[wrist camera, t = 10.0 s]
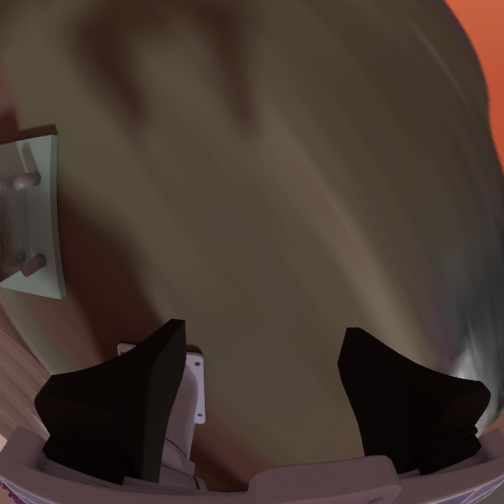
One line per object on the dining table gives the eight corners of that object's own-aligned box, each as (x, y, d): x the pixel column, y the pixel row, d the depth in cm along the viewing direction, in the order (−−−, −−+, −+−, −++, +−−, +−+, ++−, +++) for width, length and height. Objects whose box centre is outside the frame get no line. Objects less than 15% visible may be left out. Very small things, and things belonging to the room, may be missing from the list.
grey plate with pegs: (66, 294, 22) (46, 311, 19) (1, 282, 22) (-19, 294, 19) (58, 135, 18) (32, 133, 15) (-10, 148, 18) (-33, 150, 15)
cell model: (0, 459, 37) (-14, 484, 26) (11, 451, 34) (-7, 482, 23) (47, 495, 41) (36, 521, 30) (69, 494, 38) (57, 526, 27)
